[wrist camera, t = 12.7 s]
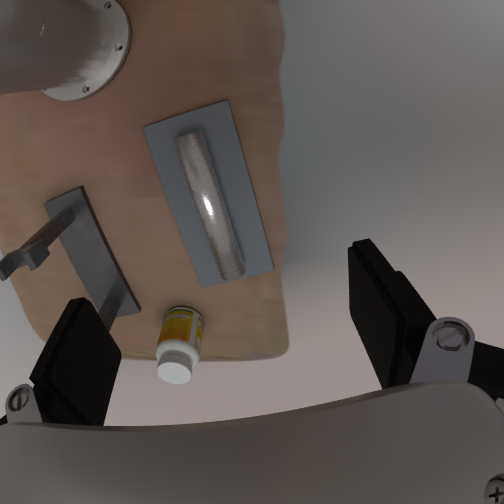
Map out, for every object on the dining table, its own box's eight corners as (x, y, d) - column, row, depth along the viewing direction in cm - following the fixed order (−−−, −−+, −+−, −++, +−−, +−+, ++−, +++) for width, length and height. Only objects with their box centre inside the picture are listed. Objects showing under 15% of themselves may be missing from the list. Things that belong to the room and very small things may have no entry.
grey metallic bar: (175, 136, 30) (168, 141, 27) (203, 127, 30) (199, 131, 27) (221, 268, 37) (219, 282, 35) (245, 262, 37) (246, 276, 34)
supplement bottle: (211, 321, 42) (207, 376, 34) (186, 340, 44) (178, 393, 35) (181, 298, 40) (170, 351, 32) (156, 319, 42) (142, 371, 33)
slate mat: (144, 127, 30) (142, 128, 29) (227, 100, 29) (227, 100, 28) (202, 284, 39) (202, 287, 39) (273, 267, 38) (274, 270, 38)
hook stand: (46, 201, 33) (-16, 252, 21) (82, 185, 32) (20, 234, 21) (106, 316, 41) (75, 385, 30) (141, 308, 41) (116, 383, 29)
